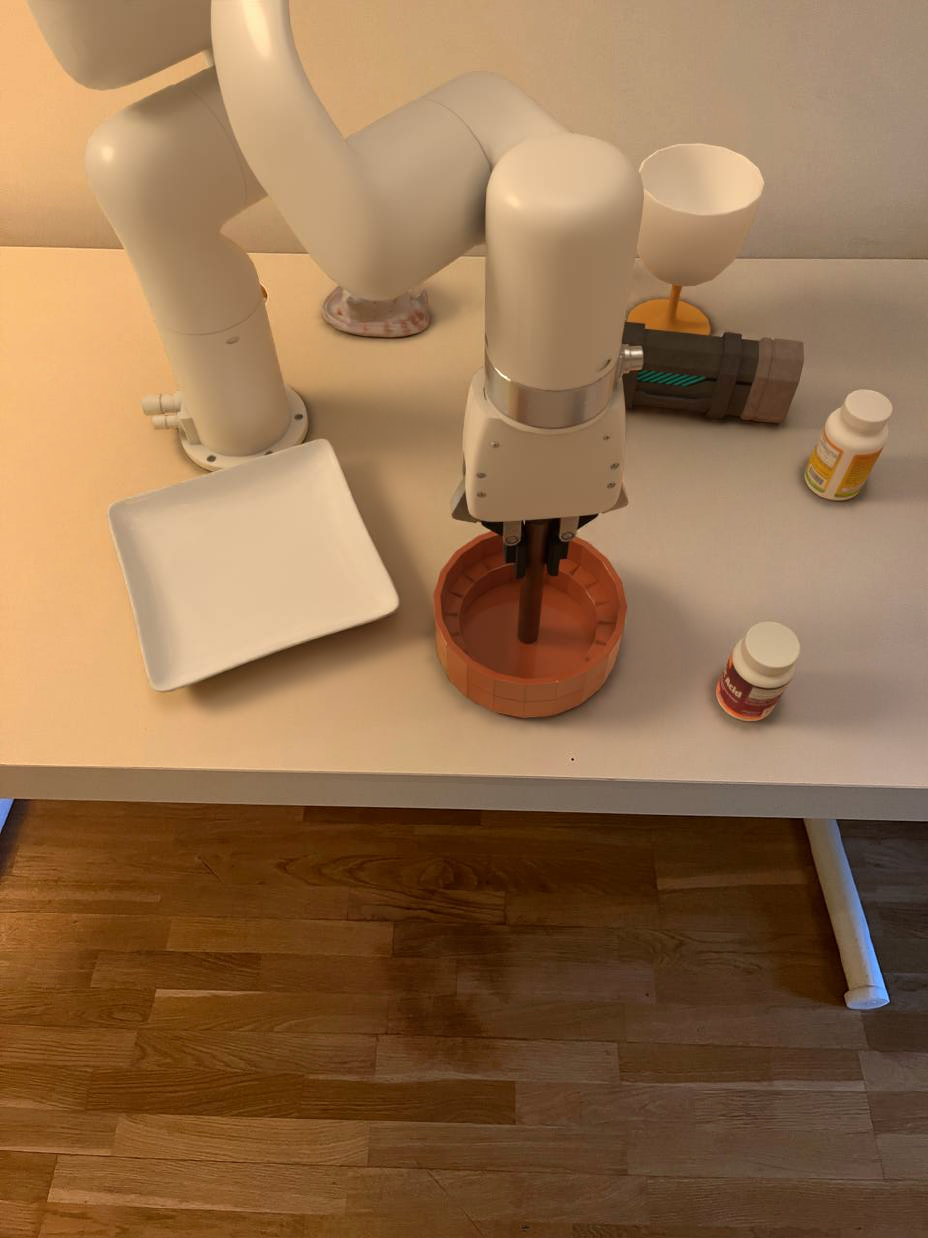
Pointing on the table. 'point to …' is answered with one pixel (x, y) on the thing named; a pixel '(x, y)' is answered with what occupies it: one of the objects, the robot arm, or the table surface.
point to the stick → (533, 579)
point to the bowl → (488, 619)
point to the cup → (692, 225)
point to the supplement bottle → (849, 445)
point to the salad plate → (246, 564)
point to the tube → (713, 373)
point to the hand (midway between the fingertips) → (534, 561)
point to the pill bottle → (758, 671)
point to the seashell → (376, 314)
